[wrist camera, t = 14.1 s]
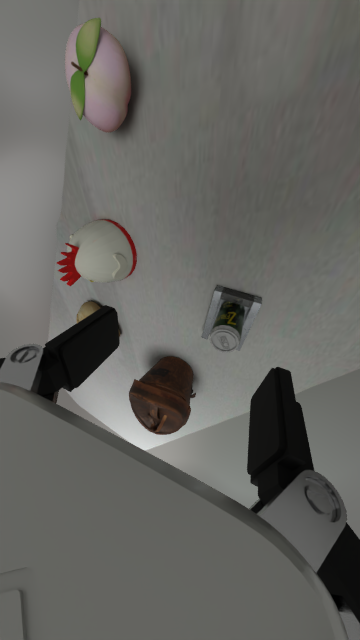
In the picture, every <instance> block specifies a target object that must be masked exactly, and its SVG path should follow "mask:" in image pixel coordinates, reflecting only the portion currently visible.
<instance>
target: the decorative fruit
mask: <svg viewBox="0 0 360 640" xmlns="http://www.w3.org/2000/svg"><path fill="white" fill-rule="evenodd" d="M65 71H66V78H67V83H68V86H69V90H70V93H71V98H72V102H73V105H74V108H75V111H76V113H77V115H78V117H79V119H80V120H81V119H82V116H83V115H84V116H85V118H86V119H87V120H88V121H89V122H90V123H92V124H93V125H94V126H95V127H97V128H98V129H100V130H102V131H104V132H113V131H115V130H116V129H118V128H119V127H120V125H121V124H122V123H123V121H124V119H125V117H126V115H127V111H128V102H129V100H130V97H131V77H130V69H129V65H128V61H127V57H126V55H125V52H124V50H123V48H122V46H121V45H120V43H119V42H118V40H117V39H116V38H115V37H114V36H113V35H112V34H110V33H109V32H108V31H107V30H105V29H104V28H102V27H101V19H100V18H94V19H91V20H89V21H87V22H86V23H85V24H81V25H79V26H77V27H76V28H75V29H74V30H73V31H72V33H71V35H70V37H69V39H68V42H67V46H66V53H65Z"/></svg>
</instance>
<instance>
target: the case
mask: <svg viewBox="0 0 360 640" xmlns="http://www.w3.org/2000/svg"><path fill="white" fill-rule="evenodd" d="M192 383H193V372H192V369H191V368H190V366H189V365H188V364H187V363H186V362H185V361H183V360H181V359H179V358H176V357H170V356H169V357H164V358H162V359H161V360H160V361H159V362H158V363H157V364H156V365H155V366H154V367H153V368H151V369H150V370H149V371H148V372H147V373H146V374H145V375H144V376H143V377H142V378H141V379H140V380H139V381H138V380H135V379H134V382H133V385H132V387H131V389H130V392H129V400H130V402H131V407H132V410H133V412H134V414H135V416H136V418H137V419H138V421H139V422H140V423H141V424H142V425H143V426H144V427H145V428H146V429H147V430H148V431H150V432H153V433H155V434H159V435H167V434H171V433H174V432H176V431H178V430H179V429H180V428H181V427H182V426H184V425H185V424H186V422H187V420H188V418H189V415H190V412H191V408H190V406H189V405H190V398H194V397H195V395H196V393H195V394H193V395H192V393H193V390H192Z"/></svg>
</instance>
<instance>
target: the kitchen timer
mask: <svg viewBox="0 0 360 640" xmlns="http://www.w3.org/2000/svg"><path fill="white" fill-rule="evenodd" d="M65 244H66V245H68V247H67V252H61V254H63V255H65V256H67V258H65V259H63V260H61V261H59V262H57V264H59V265H67V266H65V267H63V268H61V269H59V270H58V271H60V272H62V273H67V272H68V273H67V274H66V275H65V276H63V277H62V278H61V279H60V280H62V281H68V280H69V281H68V283H67V285H69V286H71V285H73V284H74V283H75V282H76V281H77V280H78V279H79V278H80V277H83V278H85V279H88V280H90V281H91V282H94V281H95V282H114V281H119V280H122V279H124V278H126V277H128V276H129V275H131V274H132V272H133V271H134V269H135V266H136V262H137V253H136V249H135V245H134V243H133V241H132V239H131V237H130V235H129V234H128V233H127V231H126V230H125V229H124V228H123V227H122V226H121V225H119V224H118V223H116V222H114V221H111V220H96V221H93V222H91V223H89V224H87V225H85V226H83V227H82V228H80V229H79V230H78V231H77V232H76V233H75V234H72V235H70V241H69V244H68V243H65Z"/></svg>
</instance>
